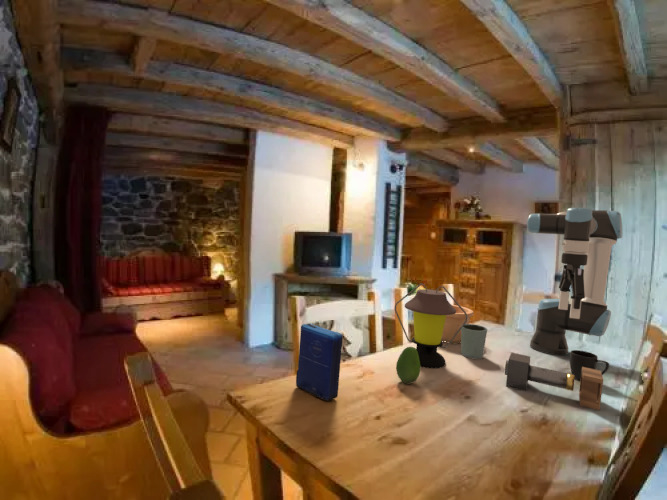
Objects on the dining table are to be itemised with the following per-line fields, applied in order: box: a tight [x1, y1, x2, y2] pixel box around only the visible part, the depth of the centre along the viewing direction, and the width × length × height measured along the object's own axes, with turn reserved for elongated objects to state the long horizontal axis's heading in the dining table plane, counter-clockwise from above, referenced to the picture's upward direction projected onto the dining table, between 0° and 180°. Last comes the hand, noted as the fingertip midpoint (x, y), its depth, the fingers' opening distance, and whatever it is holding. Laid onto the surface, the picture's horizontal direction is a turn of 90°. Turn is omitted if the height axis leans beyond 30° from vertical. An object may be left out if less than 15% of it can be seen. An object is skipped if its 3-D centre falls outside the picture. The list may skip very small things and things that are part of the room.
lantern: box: [393, 282, 467, 369], centre depth 147 cm, size 25×19×30 cm
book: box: [295, 323, 343, 402], centre depth 113 cm, size 14×5×20 cm, turn 49°
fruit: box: [395, 346, 421, 384], centre depth 126 cm, size 8×8×12 cm
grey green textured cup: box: [460, 323, 488, 360], centre depth 158 cm, size 10×10×12 cm
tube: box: [504, 359, 575, 392], centre depth 127 cm, size 20×5×5 cm, turn 59°
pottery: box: [441, 304, 474, 344], centre depth 181 cm, size 22×22×14 cm
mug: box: [569, 349, 610, 382], centre depth 137 cm, size 8×12×10 cm
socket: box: [578, 367, 604, 411], centre depth 120 cm, size 9×5×10 cm, turn 149°
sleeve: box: [505, 352, 531, 392], centre depth 130 cm, size 8×6×9 cm
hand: (568, 313), depth 133 cm, fingers open, 13 cm apart
